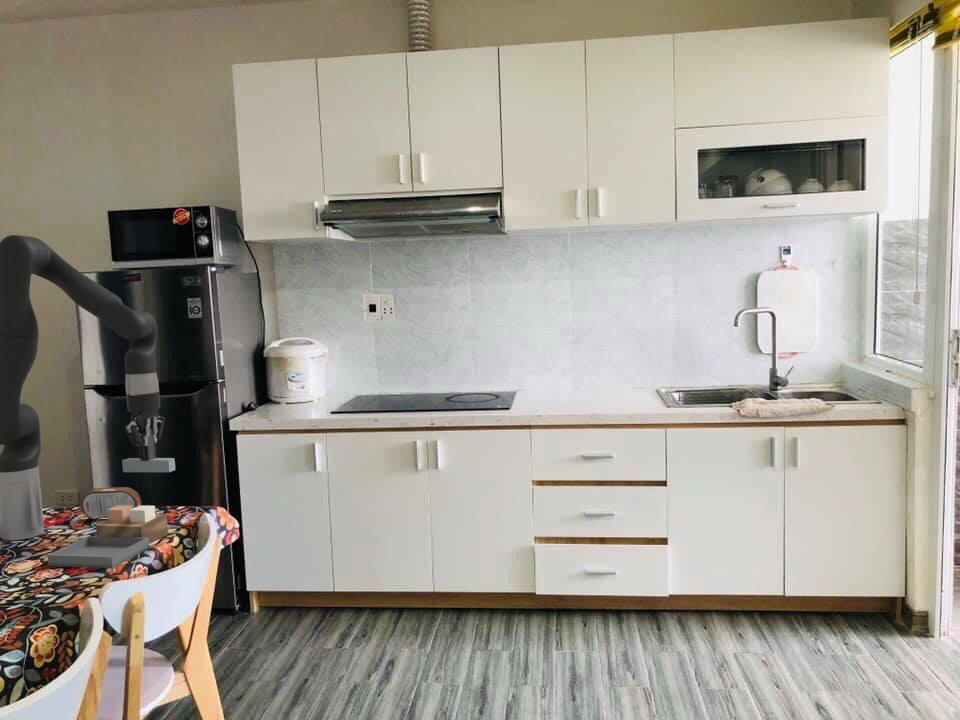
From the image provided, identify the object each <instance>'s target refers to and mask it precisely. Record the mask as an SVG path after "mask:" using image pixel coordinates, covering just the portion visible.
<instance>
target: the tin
mask: <svg viewBox="0 0 960 720" xmlns="http://www.w3.org/2000/svg"><path fill="white" fill-rule="evenodd" d="M117 505H133V508H135V507H138V506H140V505H142V499H141V497H140V495H139V493H138V492H137V491H136V490H134V488H131V487H128V486H127V487H126V486H125V487H124V486H121V487H97V488H92V489H90V490H89V491H88V492H87V493H86V494H85V495H84V496H83V497H82V500H81V510H82V512H83V514H84V515H85V517H87V518H89V519H90V518H91V520H93V519H94V518H108V513H107V510H108V509H110V508H112V507H115V506H117Z"/></svg>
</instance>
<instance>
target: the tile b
mask: <svg viewBox="0 0 960 720" xmlns="http://www.w3.org/2000/svg"><path fill="white" fill-rule="evenodd" d="M155 507H156V506H155V505H142V504H141V505H140V506H138V507H135V508H133V509H131V510H129V511H130V522H135V523H146V522H148V521H150V520H152V519H154V518H156V517H155V514H156V510H155V509H156V508H155Z"/></svg>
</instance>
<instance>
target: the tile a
mask: <svg viewBox="0 0 960 720" xmlns="http://www.w3.org/2000/svg"><path fill="white" fill-rule="evenodd" d="M131 509H133V505H117V506H115V507H112V508H110V509H108V510H107V513H108V522H124V521H127V520H129V519H130V511H129V510H131Z"/></svg>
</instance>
